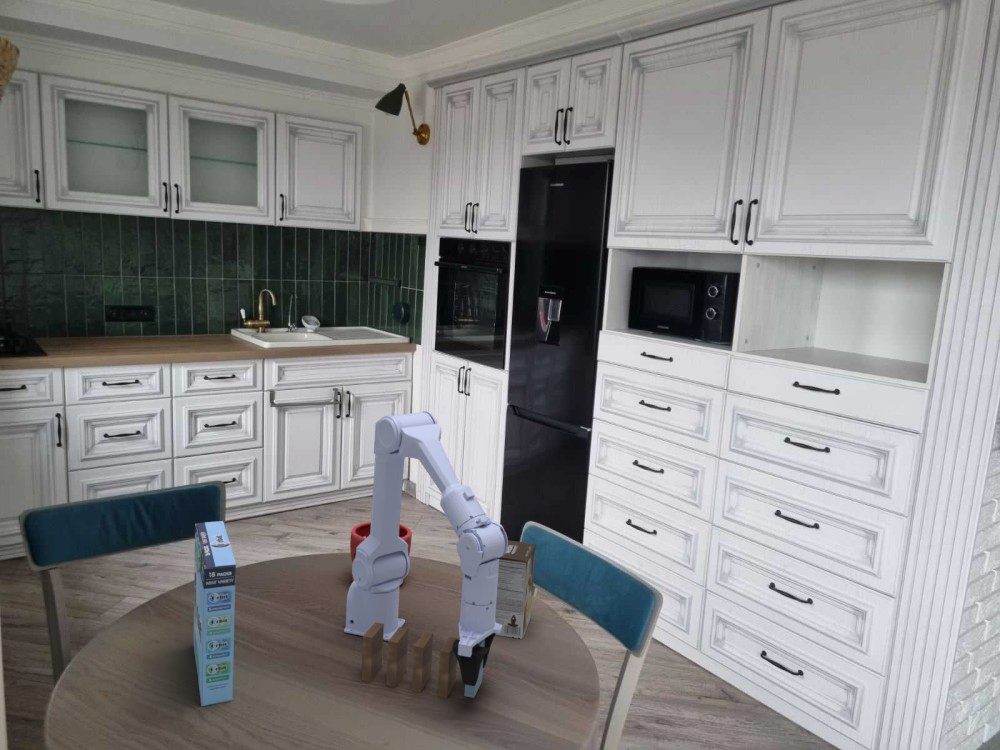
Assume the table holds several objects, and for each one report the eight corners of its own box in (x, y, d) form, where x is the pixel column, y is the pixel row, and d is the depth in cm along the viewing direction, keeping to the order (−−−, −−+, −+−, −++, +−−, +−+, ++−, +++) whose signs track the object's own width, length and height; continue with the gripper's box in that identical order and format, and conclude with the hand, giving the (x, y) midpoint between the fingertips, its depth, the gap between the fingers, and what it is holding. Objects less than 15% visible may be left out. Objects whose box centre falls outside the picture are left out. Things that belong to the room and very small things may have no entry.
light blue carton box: (193, 645, 128) (193, 522, 125) (223, 640, 130) (224, 519, 127) (200, 708, 111) (200, 567, 107) (235, 701, 113) (237, 563, 110)
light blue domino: (464, 695, 116) (467, 650, 115) (472, 679, 121) (475, 635, 120) (473, 698, 116) (477, 652, 115) (482, 681, 121) (485, 637, 120)
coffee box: (500, 613, 147) (505, 538, 145) (531, 618, 146) (536, 543, 144) (491, 635, 138) (496, 555, 136) (523, 640, 137) (529, 560, 135)
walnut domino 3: (411, 691, 119) (414, 645, 117) (422, 674, 123) (424, 631, 122) (420, 692, 118) (423, 647, 117) (430, 676, 123) (433, 633, 122)
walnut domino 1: (361, 680, 121) (363, 636, 119) (373, 665, 125) (375, 622, 124) (370, 682, 120) (371, 637, 119) (382, 666, 125) (383, 623, 124)
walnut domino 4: (437, 696, 118) (440, 651, 116) (447, 679, 122) (449, 636, 121) (446, 698, 117) (449, 652, 116) (456, 681, 122) (458, 637, 121)
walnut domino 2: (386, 685, 120) (388, 640, 118) (397, 669, 124) (399, 626, 123) (395, 687, 119) (397, 642, 118) (406, 671, 124) (408, 628, 123)
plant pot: (405, 596, 152) (408, 542, 150) (343, 593, 151) (345, 539, 150) (412, 570, 165) (414, 520, 163) (354, 567, 164) (356, 517, 163)
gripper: (491, 622, 108) (486, 705, 110) (512, 583, 122) (507, 657, 124) (447, 614, 110) (442, 695, 112) (473, 576, 124) (468, 649, 126)
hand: (474, 675), depth 118 cm, fingers closed on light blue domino, 5 cm apart
